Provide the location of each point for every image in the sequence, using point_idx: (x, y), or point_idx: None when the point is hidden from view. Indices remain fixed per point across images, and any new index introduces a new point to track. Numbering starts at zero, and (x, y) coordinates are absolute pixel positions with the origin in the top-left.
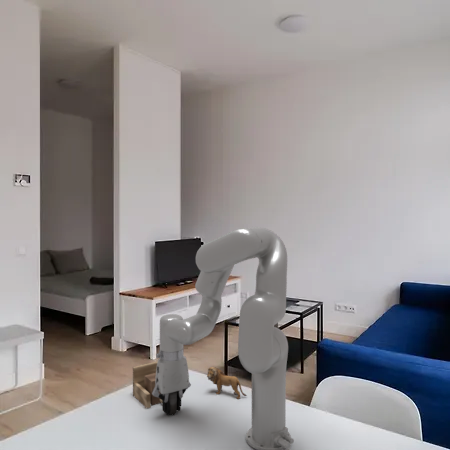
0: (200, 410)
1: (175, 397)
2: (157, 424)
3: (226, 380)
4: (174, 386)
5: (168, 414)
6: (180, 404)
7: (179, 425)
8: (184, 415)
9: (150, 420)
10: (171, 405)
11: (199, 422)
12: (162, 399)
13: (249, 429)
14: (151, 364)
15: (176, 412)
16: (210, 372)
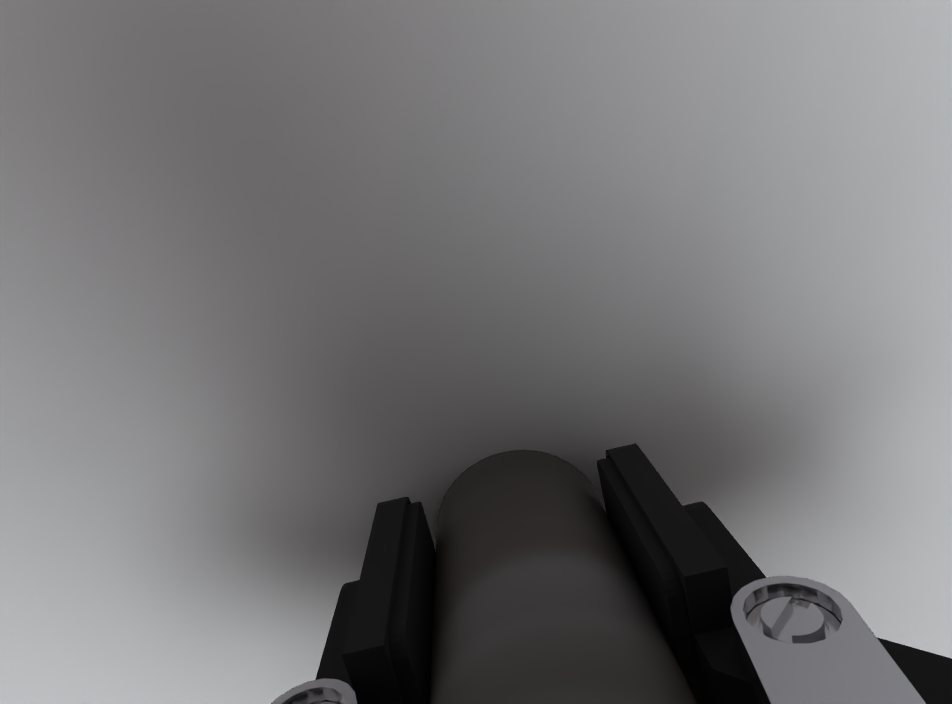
0: (23, 451)
1: (497, 682)
2: (851, 254)
3: None
4: None
5: (593, 489)
6: (365, 564)
7: (511, 65)
8: (338, 383)
9: (905, 422)
10: (584, 546)
11: (118, 23)
12: (919, 663)
13: None
14: None
15: (455, 490)
16: None
